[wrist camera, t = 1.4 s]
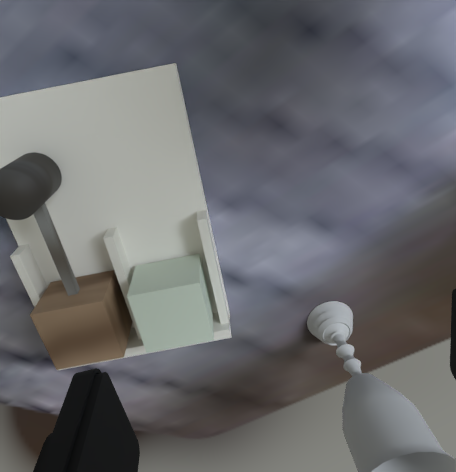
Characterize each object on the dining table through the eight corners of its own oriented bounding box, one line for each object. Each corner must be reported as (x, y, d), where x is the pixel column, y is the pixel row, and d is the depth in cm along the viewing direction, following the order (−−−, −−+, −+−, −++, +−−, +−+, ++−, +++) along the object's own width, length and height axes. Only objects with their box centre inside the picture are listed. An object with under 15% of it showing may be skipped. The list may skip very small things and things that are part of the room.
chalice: (289, 341, 44) (345, 513, 27) (307, 289, 41) (380, 447, 25) (350, 348, 45) (439, 518, 28) (372, 299, 42) (483, 456, 26)
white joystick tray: (-36, 104, 31) (-93, 117, 25) (176, 62, 31) (171, 65, 25) (70, 339, 41) (48, 389, 35) (229, 309, 41) (234, 354, 35)
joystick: (-5, 157, 31) (-45, 179, 26) (69, 143, 31) (44, 161, 26) (72, 332, 39) (54, 375, 34) (132, 321, 39) (122, 363, 34)
